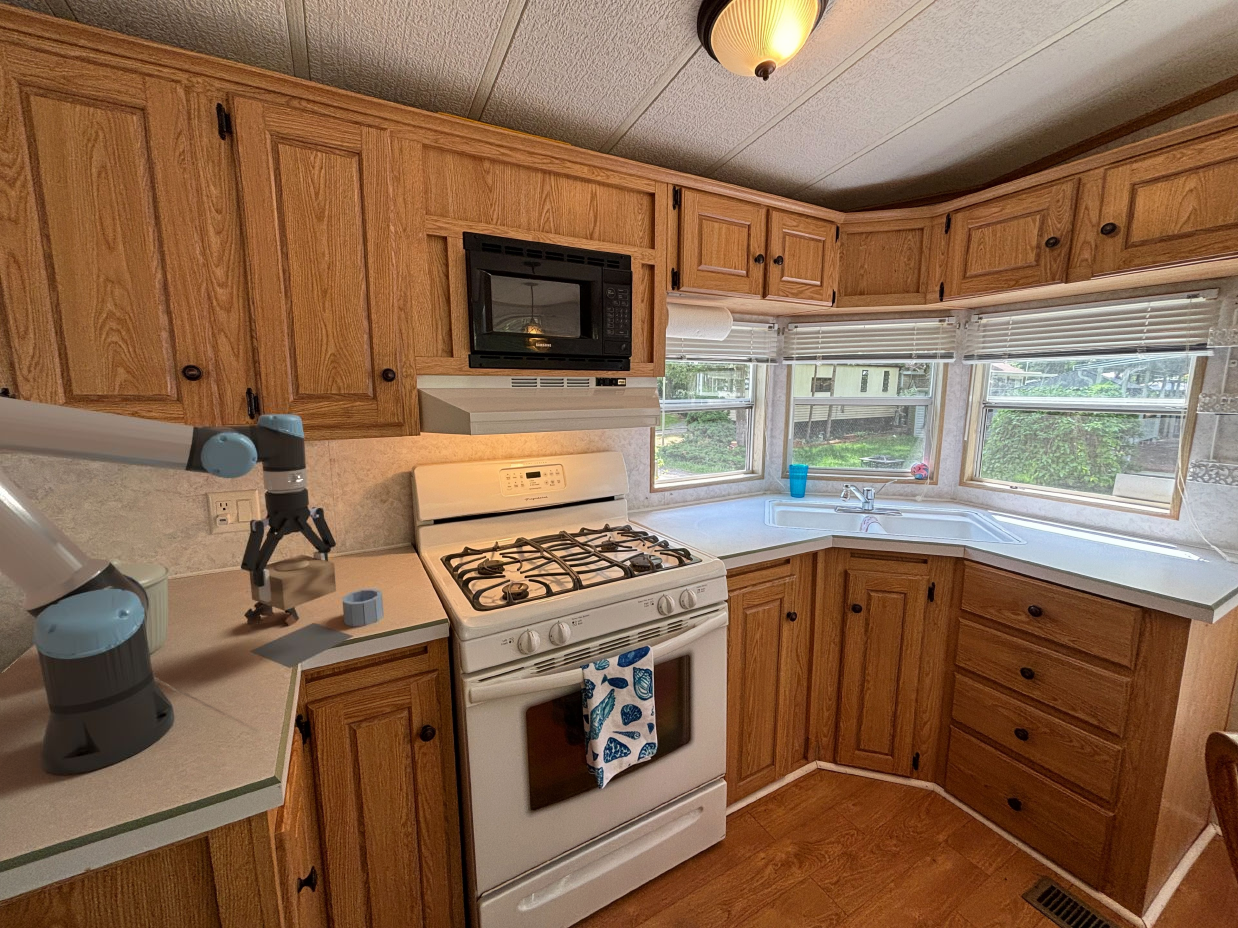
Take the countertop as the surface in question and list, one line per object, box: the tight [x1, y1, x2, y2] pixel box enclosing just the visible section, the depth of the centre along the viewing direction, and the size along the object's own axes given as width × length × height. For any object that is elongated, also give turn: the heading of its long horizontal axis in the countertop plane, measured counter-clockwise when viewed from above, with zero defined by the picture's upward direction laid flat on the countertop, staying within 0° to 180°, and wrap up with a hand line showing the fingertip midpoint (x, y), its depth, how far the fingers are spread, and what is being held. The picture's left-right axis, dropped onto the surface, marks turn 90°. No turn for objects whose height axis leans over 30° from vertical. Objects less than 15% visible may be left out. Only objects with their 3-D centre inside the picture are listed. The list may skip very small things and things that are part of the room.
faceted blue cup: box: [341, 588, 385, 627], centre depth 122 cm, size 8×9×6 cm
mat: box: [249, 622, 354, 669], centre depth 111 cm, size 14×14×1 cm
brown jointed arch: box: [244, 601, 300, 627], centre depth 121 cm, size 12×10×8 cm
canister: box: [105, 557, 172, 655], centre depth 105 cm, size 18×18×21 cm
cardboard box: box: [248, 554, 337, 612], centre depth 108 cm, size 11×11×7 cm
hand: (294, 590), depth 108 cm, fingers closed on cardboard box, 11 cm apart
